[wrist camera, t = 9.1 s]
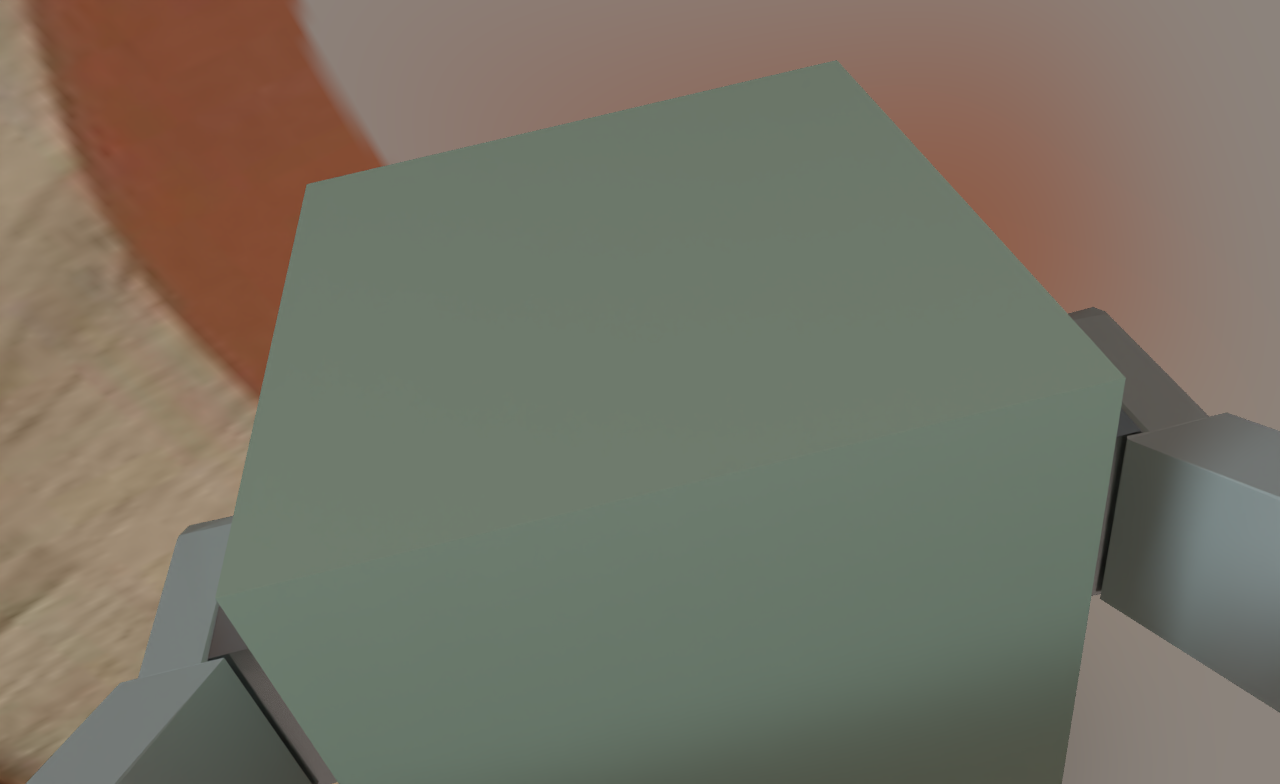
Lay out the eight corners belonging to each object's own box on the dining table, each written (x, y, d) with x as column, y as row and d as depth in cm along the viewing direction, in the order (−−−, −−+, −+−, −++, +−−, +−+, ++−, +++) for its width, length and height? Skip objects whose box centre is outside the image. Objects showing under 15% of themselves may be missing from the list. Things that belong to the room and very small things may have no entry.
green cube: (858, 454, 13) (1052, 837, 9) (460, 550, 12) (474, 984, 8) (837, 60, 9) (1126, 377, 6) (307, 184, 9) (213, 598, 5)
